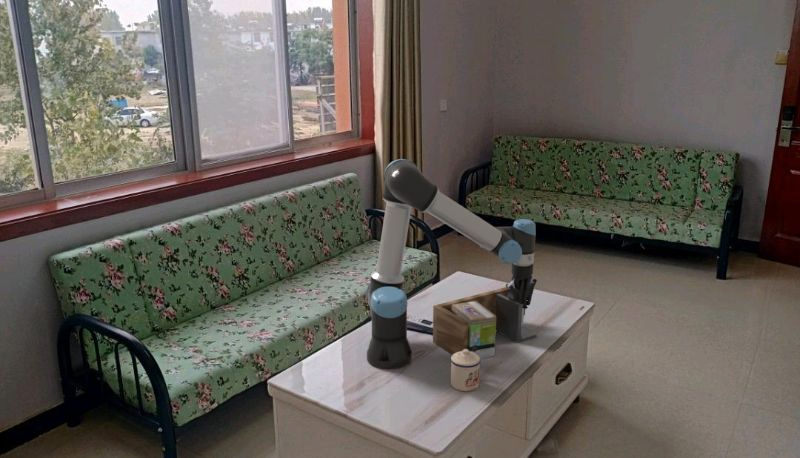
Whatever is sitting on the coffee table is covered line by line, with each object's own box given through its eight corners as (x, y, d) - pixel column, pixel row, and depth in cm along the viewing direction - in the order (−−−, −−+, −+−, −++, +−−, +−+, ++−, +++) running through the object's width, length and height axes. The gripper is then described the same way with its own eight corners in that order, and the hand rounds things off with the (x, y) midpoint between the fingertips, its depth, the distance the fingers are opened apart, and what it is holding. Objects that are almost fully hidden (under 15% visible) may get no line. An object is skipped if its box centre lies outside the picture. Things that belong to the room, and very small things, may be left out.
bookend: (517, 342, 222) (519, 305, 218) (494, 330, 232) (496, 294, 228) (536, 336, 227) (538, 300, 223) (513, 324, 237) (515, 289, 233)
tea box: (495, 356, 213) (497, 316, 209) (468, 361, 210) (470, 320, 205) (475, 338, 226) (476, 299, 222) (449, 342, 223) (450, 303, 219)
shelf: (462, 362, 209) (463, 323, 205) (432, 342, 223) (433, 305, 219) (542, 336, 227) (544, 300, 223) (510, 319, 241) (512, 285, 237)
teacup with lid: (468, 395, 189) (469, 360, 186) (444, 385, 195) (444, 351, 191) (490, 379, 198) (491, 346, 195) (466, 370, 204) (467, 337, 200)
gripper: (515, 269, 217) (512, 332, 223) (543, 262, 223) (539, 324, 230) (501, 263, 223) (498, 324, 229) (529, 257, 229) (525, 316, 236)
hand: (519, 324), depth 230 cm, fingers closed
